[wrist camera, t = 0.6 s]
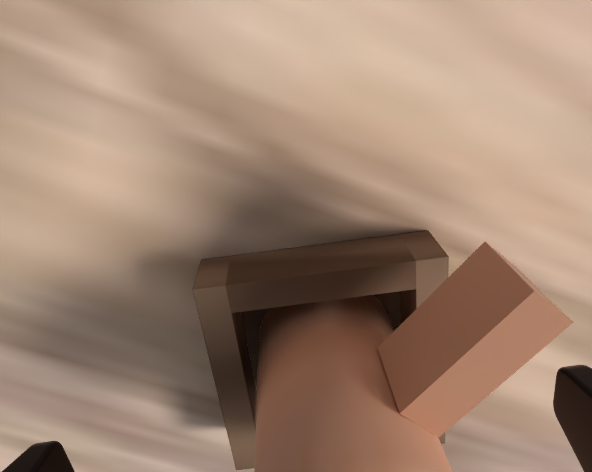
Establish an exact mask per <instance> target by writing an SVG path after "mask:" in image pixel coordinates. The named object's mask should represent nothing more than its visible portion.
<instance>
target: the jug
mask: <svg viewBox="0 0 592 472" xmlns="http://www.w3.org/2000/svg"><path fill="white" fill-rule="evenodd" d="M572 323H573V321H572V320H571V319H570V318H569V317H567V316H566V315H565V314H564V313H563V312H562V311H561V310H560V309H559V308H558V307H557V306H556V305H555V304H554V303H553V302H552V301H551V300H550V299H549V298H548V297H547V296H546V295H545V294H544V293H543V292H542V291H541V290H540V289H539V288H538V287H537V286H536V285H535V284H534V283H533V282H532V281H531V280H529V279H528V278H527V277H526V276H525V275H524V274H523V273H522V272H521V271H520V270H519V269H518V268H517V267H516V266H515V265H513V264H512V263H511V262H510V261H508V260H507V259H506V258H505V257H504V256H502V255H501V254H500V253H499V252H497V251H496V250H495V249H494V248H492V247H491V246H490V245H489V244H488V243H486V242H484V243H483V244H482V245H481V246H480V247H479V248H478V249H477V250H476V251H475V252H474V253H473V254H472V255H471V256H470V257H469V258H468V259H467V260H466V261H465V262H464V263H463V264H462V265H461V266H460V267H459V268H458V269H457V270H456V271H455V272H454V273H452V274H451V275H450V276H449V277H448V278H447V279H446V280H445V281H444V282H443V283H442V284H441V285H440V286H439V287H438V288H437V289H436V290H435V291H434V292H433V293H432V294H431V295H430V296H429V297H428V298H427V299H426V300H425V301H424V302H423V303H422V304H421V305H420V306H419V307H418V308H417V309H416V310H415V311H414V312H413V313H412V314H411V315H410V316H409V317H408V318H407V319H406V320H405V321H404V322H403V323H402V324H401V325H400V326H399V327H398V328H397V329H396V330H395V331H394V329H393V326H392V324H391V321H390V319H389V317H388V314H387V312H386V310H385V308H384V307H383V305H382V304H381V302H380V301H379V300H378V299H377V298H376V297H375V296H374V295H367V296H360V297H352V298H344V299H336V300H329V301H321V302H313V303H306V304H298V305H290V306H282V307H275V308H269V309H268V310H267V312H266V314H265V316H264V317H263V320H262V322H261V325H260V330H259V343H258V376H257V409H256V442H255V472H452V469H451V467H450V464H449V462H448V460H447V457H446V455H445V452H444V450H443V447H442V445H441V443H440V440H439V438H438V437H440V436H441V435H442V434H444V433H445V432H446V431H447V430H448V429H449V428H451V427H452V426H453V425H454V424H455V423H456V422H458V421H459V420H460V419H461V418H462V417H463V416H465V415H466V414H467V413H468V412H469V411H470V410H472V409H473V408H474V407H475V406H476V405H477V404H479V403H480V402H481V401H482V400H483V399H484V398H486V397H487V396H488V395H489V394H490V393H491V392H493V391H494V390H495V389H496V388H497V387H498V386H500V385H501V384H502V383H503V382H504V381H505V380H507V379H508V378H509V377H510V376H511V375H512V374H514V373H515V372H516V371H517V370H518V369H519V368H521V367H522V366H523V365H524V364H525V363H526V362H528V361H529V360H530V359H531V358H532V357H533V356H535V355H536V354H537V353H538V352H539V351H540V350H542V349H543V348H544V347H545V346H546V345H547V344H549V343H550V342H551V341H552V340H553V339H554V338H556V337H557V336H558V335H559V334H560V333H561V332H563V331H564V330H565V329H566V328H567V327H568V326H570V325H571V324H572Z"/></svg>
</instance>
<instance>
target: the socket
mask: <svg viewBox="0 0 592 472" xmlns="http://www.w3.org/2000/svg"><path fill="white" fill-rule="evenodd" d="M448 263H449V257H448V255H447V254H446V253H445V251H444V250H443V249H442V248H441V246H440V245H439V244H438V242H437V241H436V240H435V239H434V237H433V236H432V235H431V233H430V232H429V231H420V232H413V233H405V234H397V235H389V236H382V237H374V238H366V239H359V240H351V241H343V242H335V243H328V244H320V245H312V246H305V247H297V248H289V249H281V250H274V251H266V252H258V253H250V254H243V255H235V256H227V257H220V258H212V259H204V260H201V262H200V266H199V270H198V273H197V277H196V280H195V284H194V287H193V293H194V297H195V301H196V305H197V310H198V314H199V318H200V322H201V326H202V330H203V334H204V339H205V343H206V347H207V351H208V355H209V359H210V363H211V368H212V372H213V376H214V380H215V384H216V388H217V392H218V397H219V401H220V405H221V409H222V413H223V417H224V421H225V426H226V430H227V434H228V438H229V442H230V446H231V450H232V455H233V459H234V463H235V467H236V470H242V469H250V468H255V442H256V409H257V390H256V385H255V380H254V375H253V370H252V364H251V359H250V354H249V349H248V344H247V339H246V334H245V329H244V324H243V319H242V314H241V312H244V311H252V310H259V309H267V308H275V307H282V306H290V305H298V304H306V303H313V302H321V301H329V300H336V299H344V298H352V297H360V296H367V295H375V294H383V293H390V292H398V291H401V312H402V323H403V322H404V321H405V320H406V319H407V318H408V317H409V316H410V315H411V314H412V313H413V312H414V311H415V310H416V309H417V308H418V307H419V306H420V305H421V304H422V303H423V302H424V301H425V300H426V299H427V298H428V297H429V296H430V295H431V294H432V293H433V292H434V291H435V290H436V289H437V288H438V287H439V286H440V285H441V284H442V283H443V282H444V281H445V280H446V279H447V278H448ZM438 438H439V440H440V443H441V444H442V443H445V433H444V434H442V435H441V436H440V437H438Z"/></svg>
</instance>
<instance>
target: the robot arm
mask: <svg viewBox="0 0 592 472" xmlns="http://www.w3.org/2000/svg"><path fill="white" fill-rule="evenodd" d="M553 406H554V411H555V414H556V417H557V419H558V421H559V423H560V425H561V427H562V429H563V431H564V433H565V435H566V437H567V439H568V441H569V443H570V445H571V447H572V449H573V451H574V453H575V454H576V456H577V458H578V460H579V462H580V464H581V466H582V468H583V470H584V472H592V368H590V367H588V366H585V365H575V366H568V367H562V368H560V369H559V370H558V372H557V375H556V384H555V392H554V400H553ZM2 472H74V469H73V467H72V465H71V463H70V461H69V459H68V457H67V455H66V453H65V451H64V448H63V446H62V445H61V444H60V443H59V442H58V441H50V442H43V443H37V444H34V445H32V446H31V447H29V448H28V449H27V450H26V451H25V452H24V453H22V454H21V455H20V456H19V457H18V458H17V459H16V460H15V461H13V462H12V463H11V464H10V465H9V466H8V467H7V468H6V469H4V470H3V471H2Z"/></svg>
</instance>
